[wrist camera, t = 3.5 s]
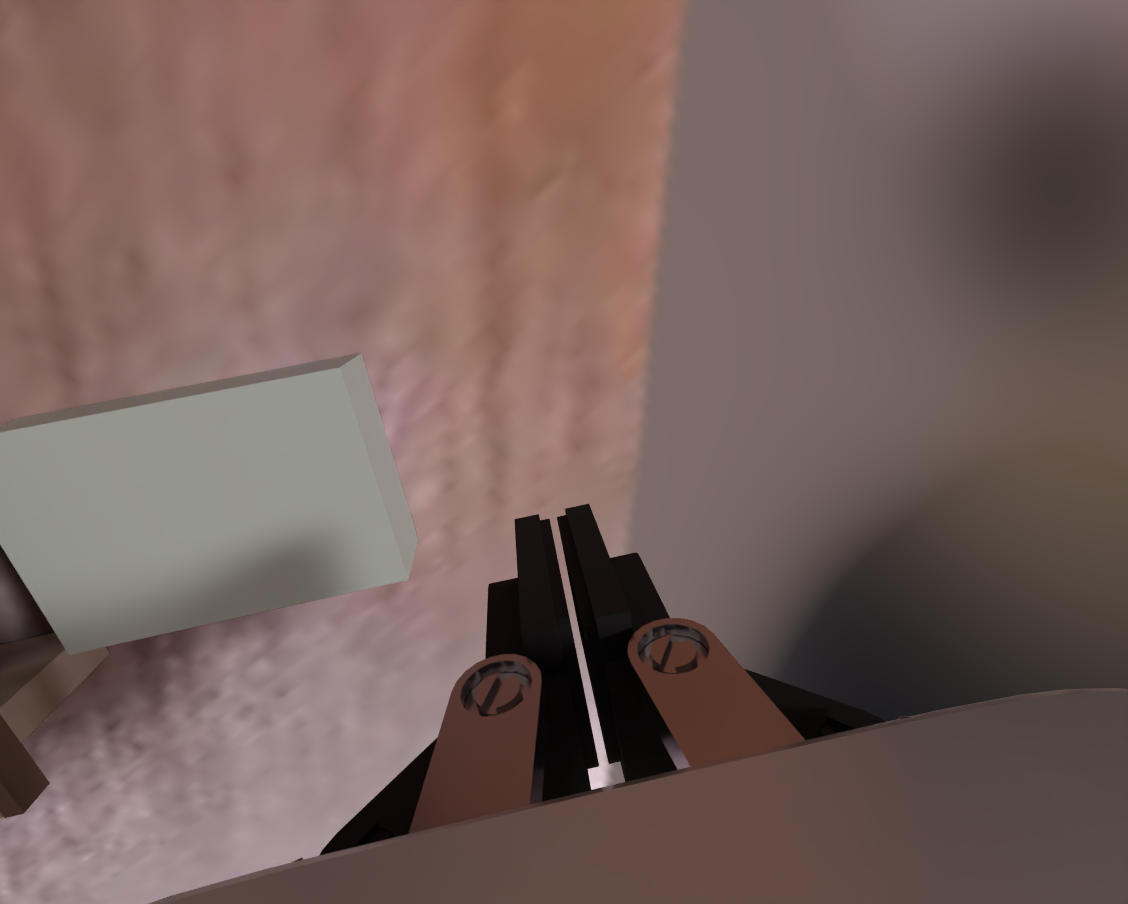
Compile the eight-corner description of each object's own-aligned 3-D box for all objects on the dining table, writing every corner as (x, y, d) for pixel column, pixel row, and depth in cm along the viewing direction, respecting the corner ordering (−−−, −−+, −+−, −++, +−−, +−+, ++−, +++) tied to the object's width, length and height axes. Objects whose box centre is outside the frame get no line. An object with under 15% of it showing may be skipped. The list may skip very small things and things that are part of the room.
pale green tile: (20, 417, 19) (-62, 444, 16) (361, 353, 19) (339, 367, 17) (124, 604, 21) (68, 654, 19) (418, 540, 22) (408, 579, 19)
